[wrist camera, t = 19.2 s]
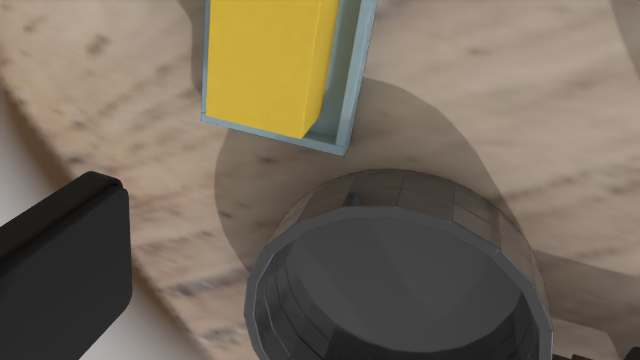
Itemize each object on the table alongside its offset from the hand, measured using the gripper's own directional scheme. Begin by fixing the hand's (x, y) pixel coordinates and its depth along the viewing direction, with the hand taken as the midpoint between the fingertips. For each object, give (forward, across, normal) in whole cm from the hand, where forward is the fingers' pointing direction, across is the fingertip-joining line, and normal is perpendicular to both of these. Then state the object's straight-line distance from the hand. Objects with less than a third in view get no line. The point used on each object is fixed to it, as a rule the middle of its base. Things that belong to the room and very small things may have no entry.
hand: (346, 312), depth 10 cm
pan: (+16, -1, +12) cm, 20 cm away
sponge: (+16, +7, -1) cm, 17 cm away
